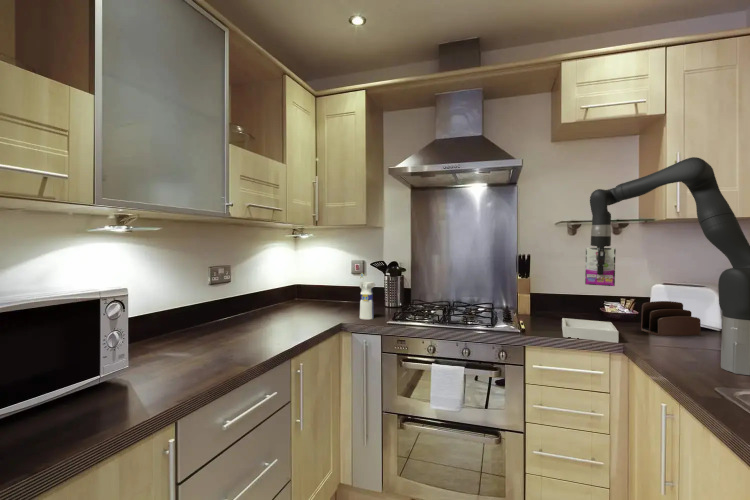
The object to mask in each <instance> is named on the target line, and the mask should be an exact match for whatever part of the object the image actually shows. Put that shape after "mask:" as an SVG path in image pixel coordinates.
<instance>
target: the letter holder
mask: <svg viewBox="0 0 750 500" xmlns="http://www.w3.org/2000/svg"><path fill="white" fill-rule="evenodd" d="M640 329H641V331H642V332H644V333H648V334H651V335H654V336H658V337H674V336H675V337H676V336H677V337H678V336H680V337H681V336H685V337H686V336H687V337H688V336H702V333H701V330H702V329H701V318H700V317H697V316H692V311H691V310H688V309H684V304H683V303H682V302H678V301H669V300H664V301H663V300H662V301H661V300H658V301H657V300H656V301H655V300H654V301H647V302H643V303H642V305H641V325H640Z"/></svg>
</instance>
